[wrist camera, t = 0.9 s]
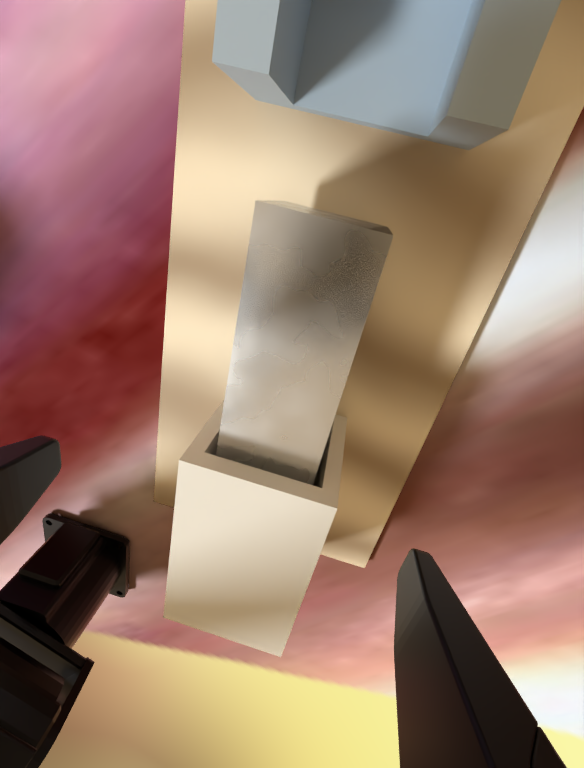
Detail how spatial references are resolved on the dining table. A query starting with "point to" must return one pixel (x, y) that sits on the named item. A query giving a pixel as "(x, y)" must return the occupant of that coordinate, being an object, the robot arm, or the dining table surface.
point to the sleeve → (247, 541)
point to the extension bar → (297, 333)
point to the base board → (364, 202)
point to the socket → (388, 60)
